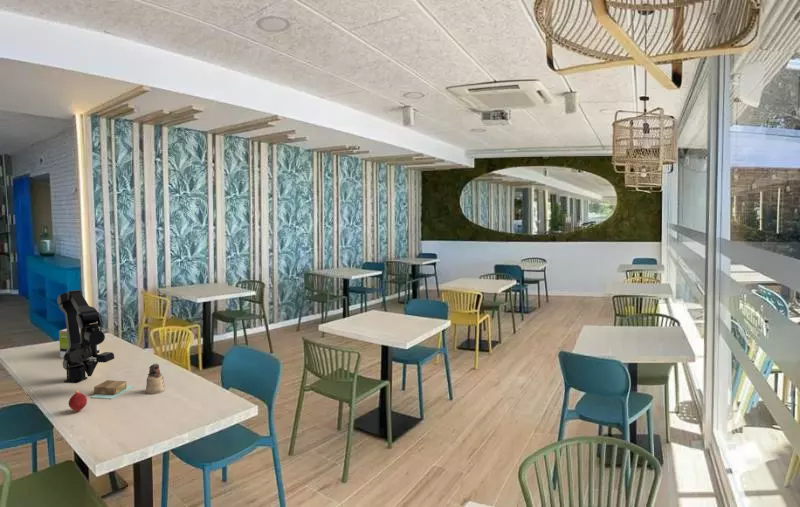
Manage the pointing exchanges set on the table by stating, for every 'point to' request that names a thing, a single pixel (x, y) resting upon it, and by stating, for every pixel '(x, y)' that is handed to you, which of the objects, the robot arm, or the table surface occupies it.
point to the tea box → (65, 342)
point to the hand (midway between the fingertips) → (89, 376)
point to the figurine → (155, 380)
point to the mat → (111, 395)
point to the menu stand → (110, 387)
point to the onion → (77, 401)
